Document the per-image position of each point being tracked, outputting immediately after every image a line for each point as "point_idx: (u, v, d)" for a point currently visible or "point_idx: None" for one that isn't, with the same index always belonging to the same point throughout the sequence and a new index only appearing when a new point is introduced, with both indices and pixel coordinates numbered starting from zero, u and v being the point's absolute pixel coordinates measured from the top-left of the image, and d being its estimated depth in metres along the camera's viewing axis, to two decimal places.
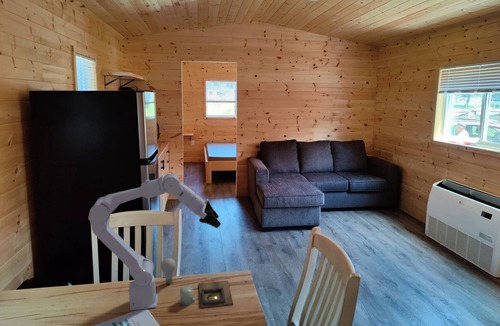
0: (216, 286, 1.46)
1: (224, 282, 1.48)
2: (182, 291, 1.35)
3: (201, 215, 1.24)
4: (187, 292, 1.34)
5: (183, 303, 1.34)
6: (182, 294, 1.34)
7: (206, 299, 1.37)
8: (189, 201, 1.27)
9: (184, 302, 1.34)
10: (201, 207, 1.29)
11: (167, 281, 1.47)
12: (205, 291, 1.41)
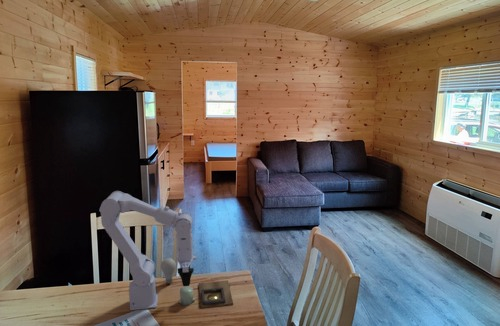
0: (216, 286, 1.46)
1: (224, 282, 1.48)
2: (182, 291, 1.35)
3: (184, 269, 1.26)
4: (187, 292, 1.34)
5: (183, 303, 1.34)
6: (182, 294, 1.34)
7: (206, 299, 1.37)
8: (183, 249, 1.29)
9: (184, 302, 1.34)
10: (187, 260, 1.30)
11: (167, 281, 1.47)
12: (205, 291, 1.41)
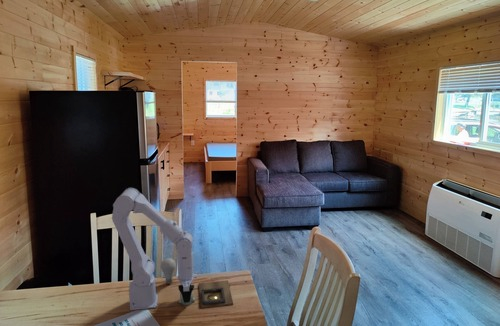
0: (216, 286, 1.46)
1: (224, 282, 1.48)
2: None
3: (185, 288, 1.27)
4: None
5: (183, 303, 1.34)
6: None
7: (206, 299, 1.37)
8: (184, 268, 1.30)
9: None
10: (188, 279, 1.32)
11: (167, 281, 1.47)
12: (205, 291, 1.41)
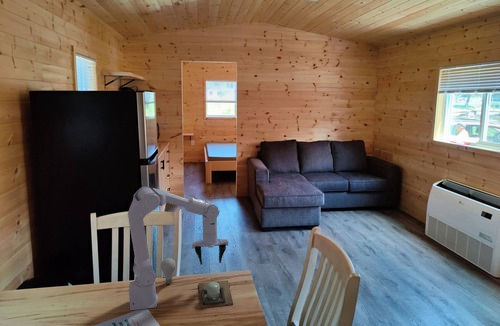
0: None
1: (224, 282, 1.48)
2: (210, 283, 1.38)
3: None
4: (208, 286, 1.37)
5: None
6: None
7: (206, 299, 1.37)
8: (212, 233, 1.41)
9: None
10: (203, 243, 1.44)
11: (167, 281, 1.47)
12: (205, 291, 1.41)
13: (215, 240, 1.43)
